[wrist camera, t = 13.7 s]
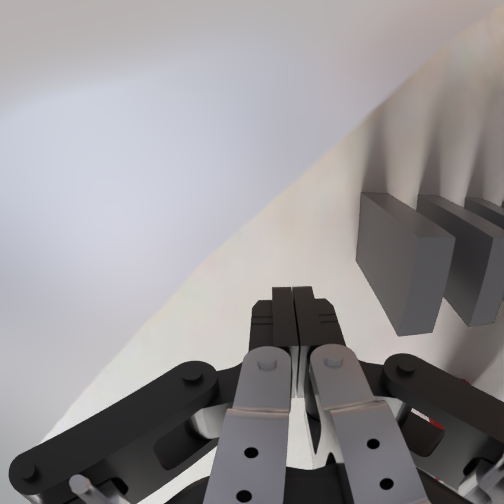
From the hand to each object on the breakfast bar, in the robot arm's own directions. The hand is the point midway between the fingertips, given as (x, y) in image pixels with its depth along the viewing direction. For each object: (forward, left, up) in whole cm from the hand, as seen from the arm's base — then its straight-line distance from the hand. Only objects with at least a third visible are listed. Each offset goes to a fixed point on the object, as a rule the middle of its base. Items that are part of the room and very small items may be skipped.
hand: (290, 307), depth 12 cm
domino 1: (-4, -5, -10) cm, 12 cm away
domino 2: (-6, -9, -10) cm, 15 cm away
